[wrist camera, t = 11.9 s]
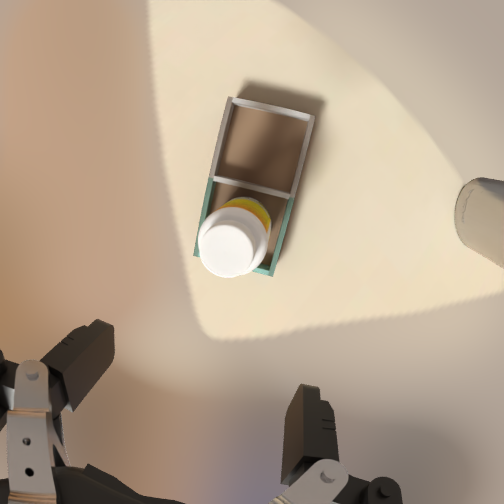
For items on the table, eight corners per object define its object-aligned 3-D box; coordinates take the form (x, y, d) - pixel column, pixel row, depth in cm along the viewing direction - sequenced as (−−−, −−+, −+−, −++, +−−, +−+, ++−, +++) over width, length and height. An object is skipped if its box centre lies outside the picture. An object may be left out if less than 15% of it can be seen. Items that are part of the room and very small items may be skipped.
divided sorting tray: (312, 120, 27) (315, 116, 25) (273, 267, 33) (272, 276, 30) (233, 102, 28) (227, 96, 25) (200, 247, 33) (193, 255, 30)
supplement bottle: (218, 195, 30) (186, 211, 20) (272, 196, 29) (266, 213, 19) (218, 247, 31) (190, 285, 22) (271, 250, 31) (264, 290, 21)
